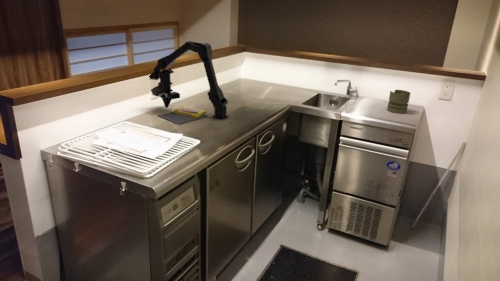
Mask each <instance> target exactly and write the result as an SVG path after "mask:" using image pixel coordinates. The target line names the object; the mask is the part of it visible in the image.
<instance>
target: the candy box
mask: <svg viewBox="0 0 500 281" xmlns="http://www.w3.org/2000/svg"><path fill="white" fill-rule="evenodd" d="M173 112H174V113H176V114H181V115H186V116H191V117H196V118H198V117H200V116H202V115H204V114H205V115H207V111H206V110H205V109H204V110H203V109H198V108H193V107H190V106H189V107H188V106H184V105H183V106H180V107H178V108H175V109H173Z"/></svg>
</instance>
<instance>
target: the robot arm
mask: <svg viewBox="0 0 500 281" xmlns="http://www.w3.org/2000/svg"><path fill="white" fill-rule="evenodd" d="M189 51H191V52H194V53H197V55H198V57H199V59H200V60H201V61H202V64H203V67H204V70H205V75H206V78H207V82H208V87H209V91H207V96H208V100H210V103H211V104H212V106H213V109H214V110H213V114H214V115H212V117H213V118H215V119H219V120H222V119H226V118H228V117H229V115H227V106H228V103H229V101H228V99H227V98H226V97H225V96H224V92H223V91H222V89H221V87H220V85H219V83H218V79H217V75H216V72H215V69H214V68H215V67H214V65H213V61H212V59H213V58H212V57H213V50H212V45H211V44H210V43H208V42H205V43H203V42H202V43H201V42H197V41H196V42H195V41H192V40H189V41H186V42H184V43H183V44H182V45H181V46H179V47H178V48H176V50H174V51H173V52H171V53H169V54H168V55H165V56H163V57H160V58H159V59H157V61H156V62H157V64H156V65H155V66H154V67H153V68H154V72H153V73H152V74H151V75H150V76H149V77H150V79H149V80H152V81H153V80H155V81H158V80H159V82H158V83H157V86H154V87H153V88H152V89H150V92H151V94H152V96H155V97H159V98H161V99H162V102H163V105H164V107H165V108H166V109H168V108H169V106H170V105H171V104H170V103H171V101H172V100H176V99H180V98H181V94H180V93H179V92H176V91H173V90H174V89H172V85H173V81H172V80H171V75H172V74H174V73H175V71H174V70H172V69H171V68H170V67H171V66H173V64H174V63H175V61H176V60H178V59H180V57H182V56H183V55H184V54H186V53H187V52H189ZM171 81H172V82H171ZM226 105H227V106H226Z"/></svg>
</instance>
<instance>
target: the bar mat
mask: <svg viewBox="0 0 500 281" xmlns="http://www.w3.org/2000/svg"><path fill="white" fill-rule="evenodd" d="M156 115H157V117H159V118H161V119H164V120H166V121H168V122H171V123H173V124H175V125H178V126H179V125H182V124H183V125H184V124H186V123H191V122H195V121H198V120H201V119H202V120H203V119H205V118H209V115H208V114H204V115H202V116H200V117H198V118H196V117H191V116H186V115H181V114H176V113H174V111H171V112H165V113H161V114H156Z"/></svg>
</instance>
